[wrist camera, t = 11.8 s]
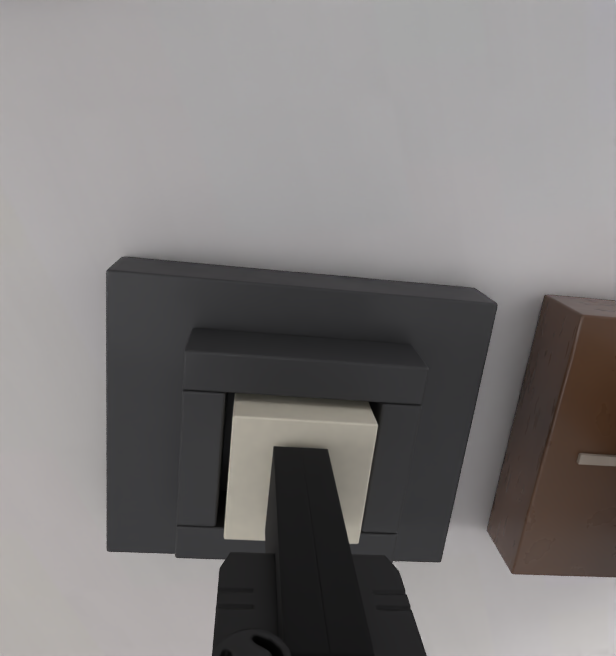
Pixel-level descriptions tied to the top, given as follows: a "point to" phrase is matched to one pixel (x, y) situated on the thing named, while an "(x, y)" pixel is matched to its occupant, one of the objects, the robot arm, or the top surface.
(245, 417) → the cream square push button
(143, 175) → the top surface
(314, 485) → the robot arm
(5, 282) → the top surface
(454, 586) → the top surface
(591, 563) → the volume panel
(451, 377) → the grey stepped base
